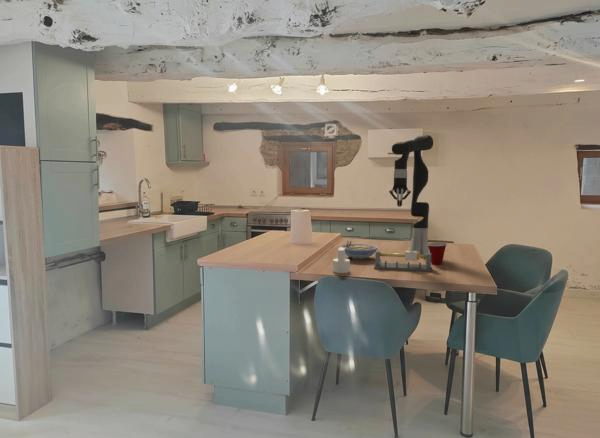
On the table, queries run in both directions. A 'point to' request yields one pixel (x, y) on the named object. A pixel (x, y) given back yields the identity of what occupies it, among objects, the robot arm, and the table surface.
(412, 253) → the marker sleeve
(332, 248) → the table surface
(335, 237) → the table surface
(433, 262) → the plastic cup
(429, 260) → the cable comb fixture
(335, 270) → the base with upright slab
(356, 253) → the ramen bowl
